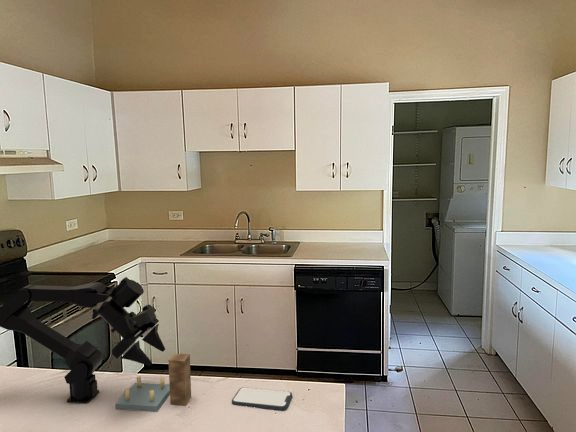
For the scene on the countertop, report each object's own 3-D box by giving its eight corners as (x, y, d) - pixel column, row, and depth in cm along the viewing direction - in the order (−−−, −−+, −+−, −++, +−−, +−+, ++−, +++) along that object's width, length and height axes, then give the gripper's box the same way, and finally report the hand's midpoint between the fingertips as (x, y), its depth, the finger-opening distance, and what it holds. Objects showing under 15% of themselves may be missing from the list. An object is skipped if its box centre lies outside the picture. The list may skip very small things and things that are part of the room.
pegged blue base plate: (115, 409, 121) (114, 393, 120) (135, 387, 133) (134, 373, 132) (157, 411, 119) (156, 395, 119) (173, 389, 131) (173, 375, 131)
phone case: (230, 407, 123) (285, 413, 119) (230, 401, 122) (285, 407, 119) (241, 391, 131) (293, 396, 127) (240, 386, 131) (293, 391, 127)
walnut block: (170, 404, 123) (168, 360, 121) (176, 396, 127) (174, 353, 126) (185, 405, 122) (184, 361, 121) (191, 397, 127) (189, 354, 125)
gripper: (120, 310, 114) (162, 352, 114) (151, 290, 132) (187, 326, 132) (93, 338, 116) (135, 380, 115) (127, 314, 134) (163, 350, 134)
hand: (157, 357), depth 124 cm, fingers open, 9 cm apart
